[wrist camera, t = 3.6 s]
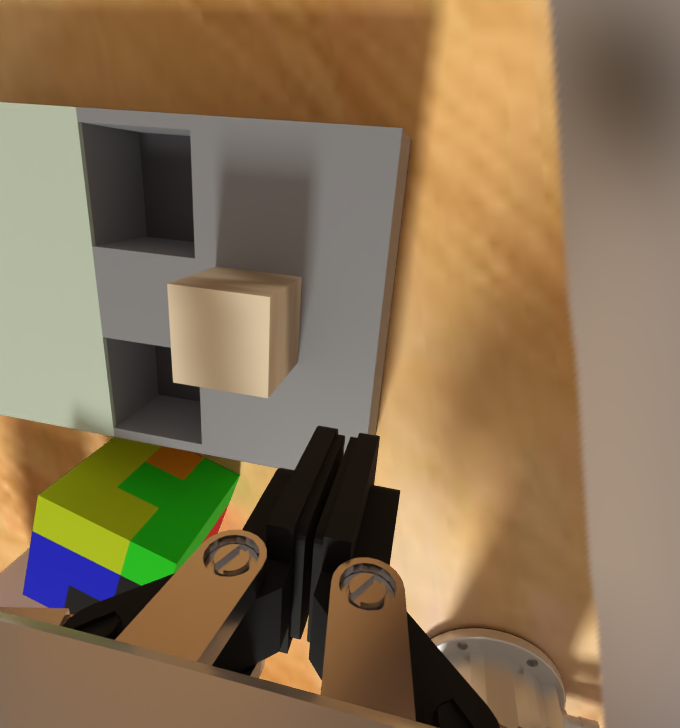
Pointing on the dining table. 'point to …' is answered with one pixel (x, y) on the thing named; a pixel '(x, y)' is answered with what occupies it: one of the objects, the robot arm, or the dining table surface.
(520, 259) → the dining table surface
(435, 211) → the dining table surface
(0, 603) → the milk carton
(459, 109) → the dining table surface
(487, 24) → the dining table surface
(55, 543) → the puzzle toy
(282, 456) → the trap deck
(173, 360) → the birch block
